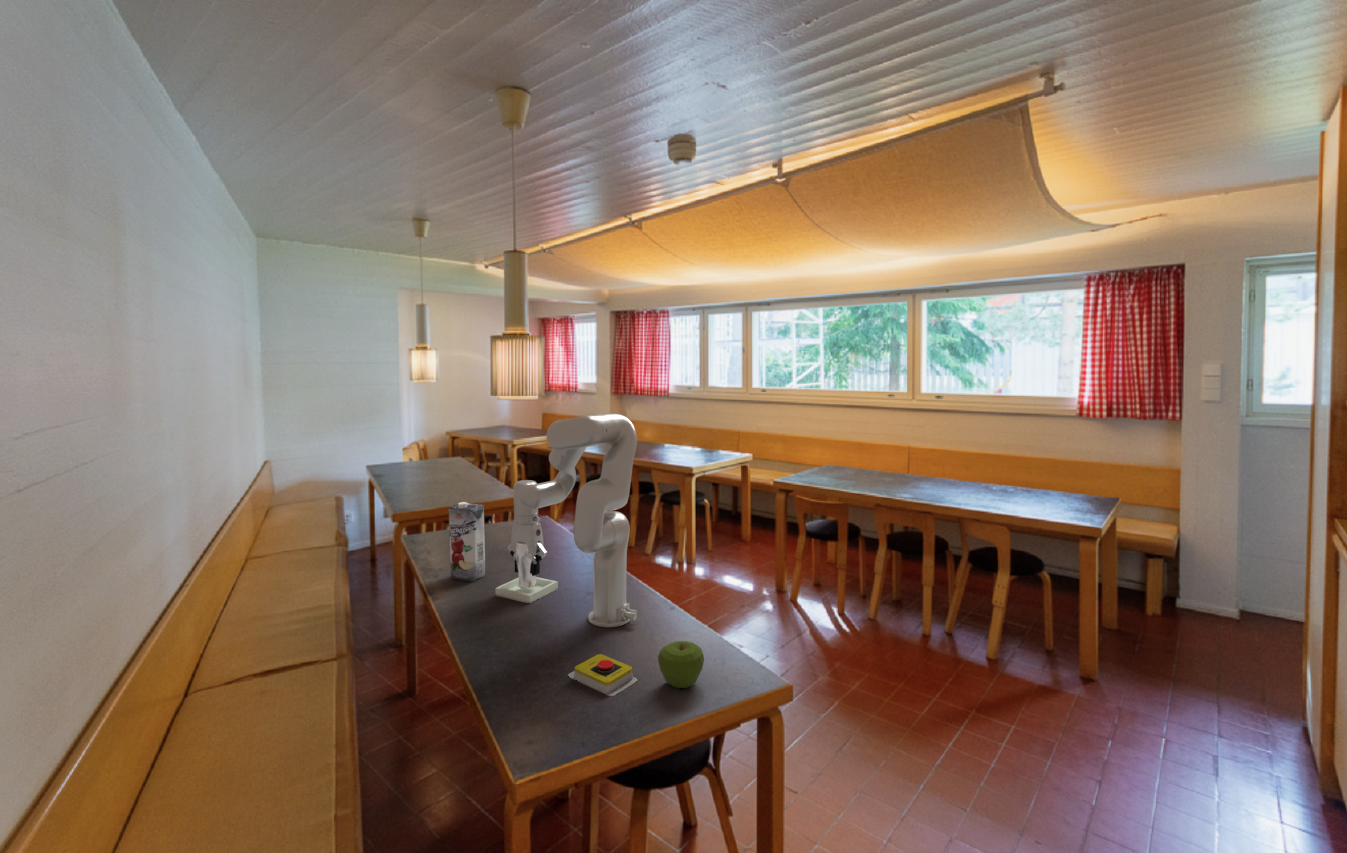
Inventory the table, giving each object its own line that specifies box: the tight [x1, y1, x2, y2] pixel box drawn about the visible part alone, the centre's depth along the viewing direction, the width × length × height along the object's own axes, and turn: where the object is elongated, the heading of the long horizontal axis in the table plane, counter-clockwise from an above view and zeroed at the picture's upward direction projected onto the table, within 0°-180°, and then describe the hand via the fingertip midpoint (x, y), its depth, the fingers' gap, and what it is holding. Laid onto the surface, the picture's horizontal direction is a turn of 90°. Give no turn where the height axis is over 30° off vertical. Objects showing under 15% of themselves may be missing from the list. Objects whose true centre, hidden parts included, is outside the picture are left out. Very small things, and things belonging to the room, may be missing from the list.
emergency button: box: [567, 653, 638, 697], centre depth 139 cm, size 9×4×15 cm
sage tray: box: [495, 576, 559, 604], centre depth 191 cm, size 14×14×2 cm
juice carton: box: [448, 501, 486, 583], centre depth 203 cm, size 9×10×27 cm
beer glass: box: [516, 542, 537, 589], centre depth 190 cm, size 7×7×15 cm
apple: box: [657, 640, 705, 689], centre depth 136 cm, size 11×10×10 cm
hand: (527, 572), depth 191 cm, fingers closed on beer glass, 6 cm apart
